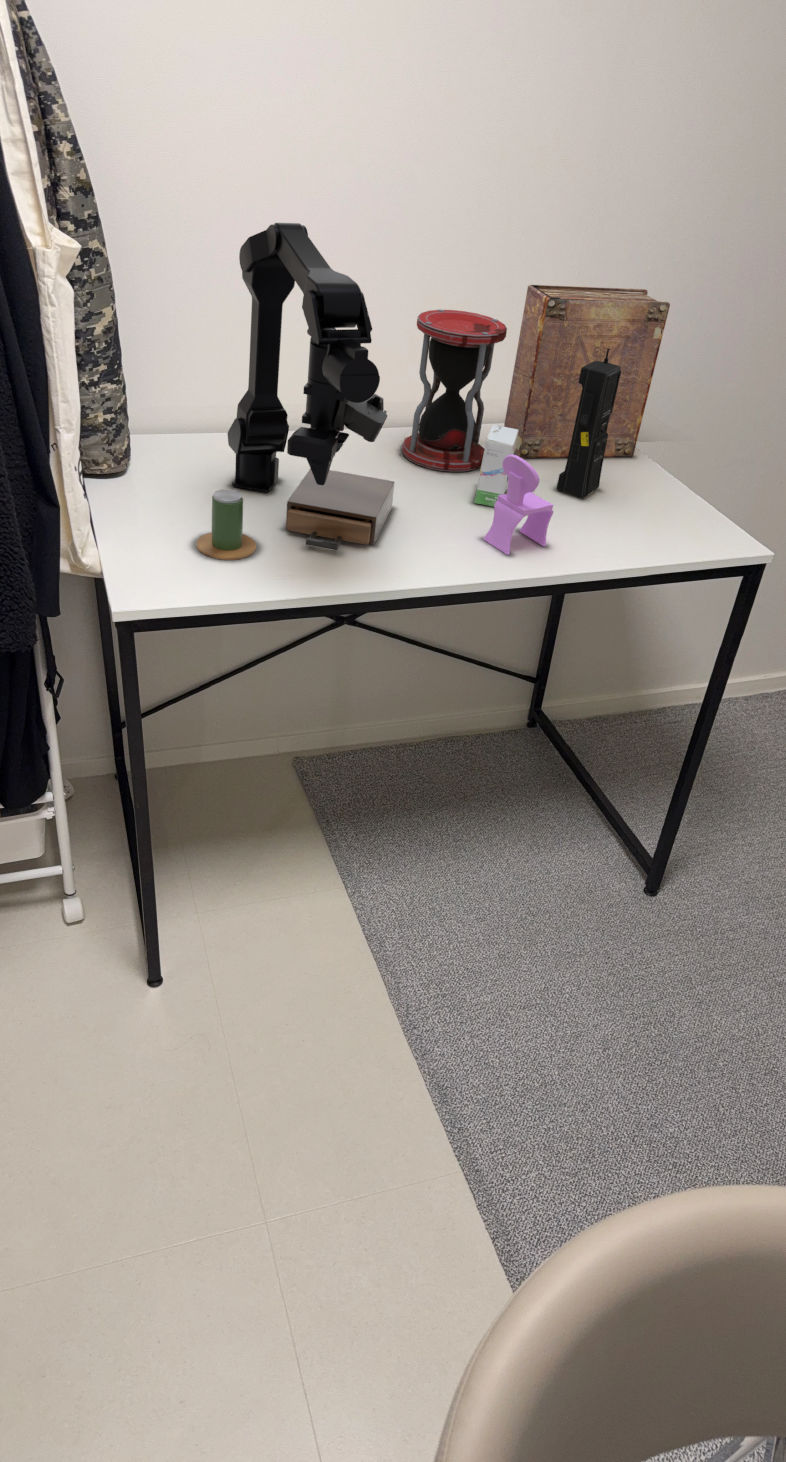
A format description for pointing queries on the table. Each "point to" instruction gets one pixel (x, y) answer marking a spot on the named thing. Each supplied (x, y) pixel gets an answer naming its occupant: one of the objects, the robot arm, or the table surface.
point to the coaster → (209, 550)
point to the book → (581, 364)
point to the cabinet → (346, 497)
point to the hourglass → (452, 389)
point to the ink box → (495, 464)
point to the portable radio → (590, 428)
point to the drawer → (328, 527)
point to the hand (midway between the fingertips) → (320, 484)
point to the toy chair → (519, 506)
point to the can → (227, 519)
